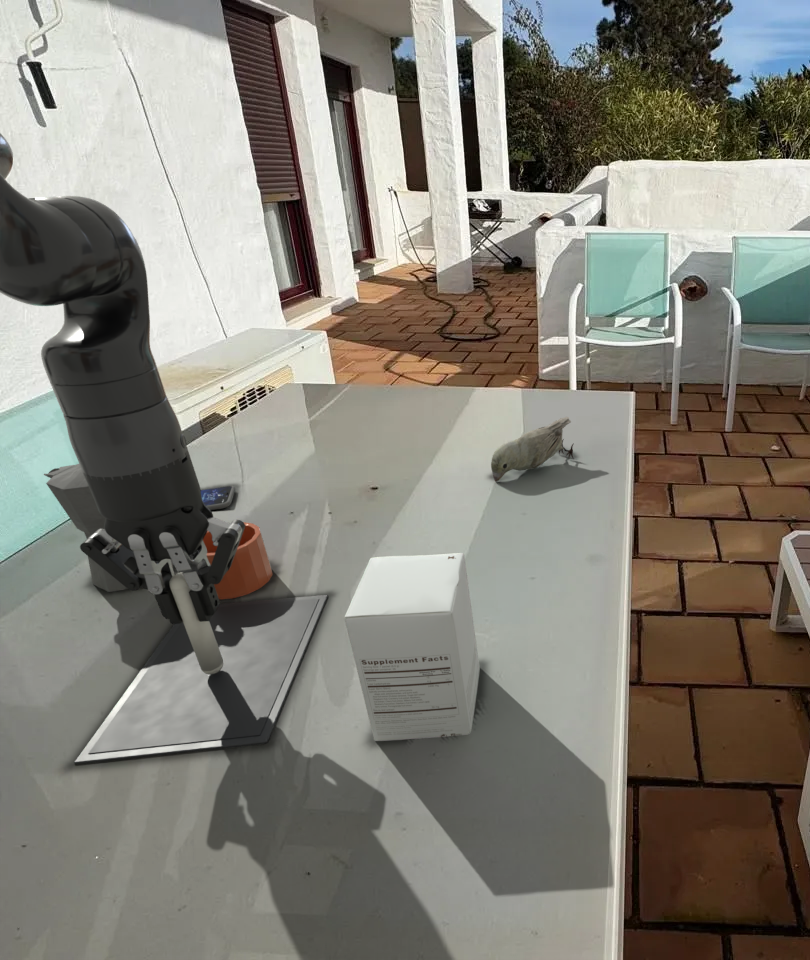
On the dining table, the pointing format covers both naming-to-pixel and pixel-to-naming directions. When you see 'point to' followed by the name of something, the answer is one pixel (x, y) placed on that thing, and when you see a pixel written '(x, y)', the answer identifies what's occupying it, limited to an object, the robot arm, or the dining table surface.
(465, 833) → the dining table surface
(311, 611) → the tablet
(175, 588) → the off-white long cylinder
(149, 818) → the dining table surface
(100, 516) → the coffeepot
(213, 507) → the smartphone
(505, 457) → the decorative bird
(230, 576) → the pen pot
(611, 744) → the dining table surface
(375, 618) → the rectangular carton
